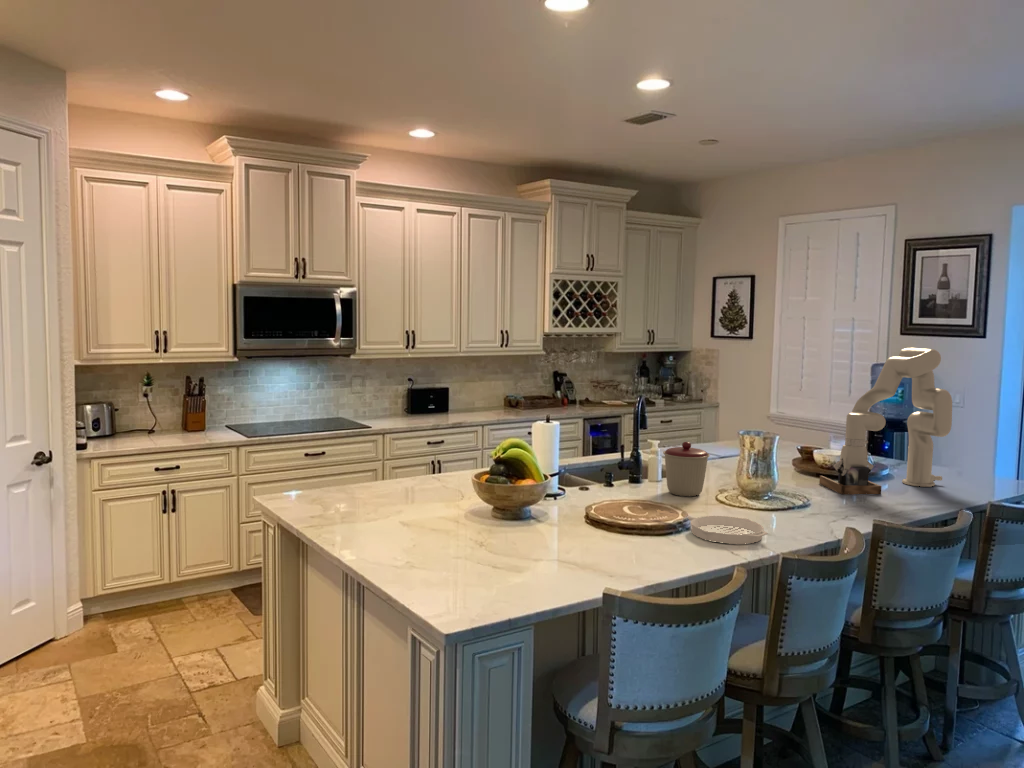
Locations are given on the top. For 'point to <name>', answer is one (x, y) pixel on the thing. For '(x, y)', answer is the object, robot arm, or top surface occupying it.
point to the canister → (685, 469)
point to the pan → (727, 521)
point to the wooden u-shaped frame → (850, 487)
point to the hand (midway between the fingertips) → (852, 484)
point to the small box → (856, 476)
